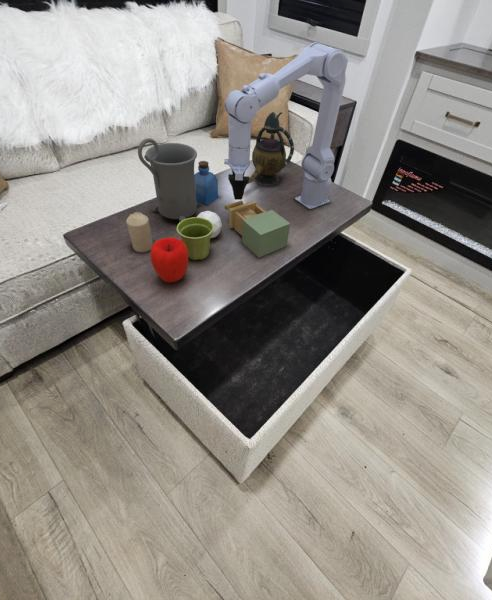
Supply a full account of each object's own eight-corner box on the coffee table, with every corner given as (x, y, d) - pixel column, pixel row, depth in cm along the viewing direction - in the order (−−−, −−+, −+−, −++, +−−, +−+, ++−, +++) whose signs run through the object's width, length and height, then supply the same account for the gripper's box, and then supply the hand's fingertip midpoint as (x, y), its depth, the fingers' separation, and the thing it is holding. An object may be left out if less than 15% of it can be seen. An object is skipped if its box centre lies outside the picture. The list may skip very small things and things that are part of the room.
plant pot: (200, 269, 88) (198, 242, 82) (172, 255, 91) (168, 229, 85) (221, 251, 94) (220, 225, 87) (194, 239, 97) (192, 213, 91)
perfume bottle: (218, 197, 114) (217, 162, 105) (206, 204, 110) (205, 169, 101) (203, 191, 116) (201, 157, 107) (192, 198, 112) (189, 163, 103)
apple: (174, 295, 81) (168, 260, 73) (147, 280, 84) (139, 246, 76) (197, 275, 86) (194, 241, 79) (171, 262, 89) (166, 228, 81)
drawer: (220, 219, 103) (220, 201, 99) (244, 211, 107) (245, 193, 103) (242, 238, 97) (243, 220, 93) (267, 229, 101) (268, 211, 97)
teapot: (292, 176, 128) (302, 109, 111) (255, 202, 113) (260, 129, 96) (266, 167, 132) (272, 101, 115) (227, 190, 117) (227, 119, 101)
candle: (148, 254, 91) (141, 222, 84) (129, 250, 91) (121, 219, 84) (156, 242, 95) (150, 211, 88) (138, 239, 95) (131, 207, 88)
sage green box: (241, 242, 97) (242, 219, 92) (269, 232, 102) (271, 209, 96) (258, 258, 93) (260, 234, 87) (286, 246, 97) (290, 223, 92)
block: (257, 226, 100) (249, 220, 102) (257, 214, 97) (250, 208, 99) (246, 230, 98) (238, 223, 101) (246, 218, 96) (238, 212, 98)
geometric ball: (211, 247, 99) (209, 239, 91) (190, 230, 99) (186, 221, 91) (227, 227, 100) (227, 218, 92) (206, 211, 100) (204, 200, 92)
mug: (182, 196, 113) (174, 116, 95) (214, 213, 107) (212, 131, 89) (136, 219, 102) (116, 133, 84) (169, 239, 96) (155, 151, 78)
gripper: (224, 133, 92) (225, 179, 102) (223, 155, 82) (223, 204, 92) (250, 134, 93) (248, 180, 103) (251, 156, 83) (249, 205, 93)
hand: (238, 192), depth 98 cm, fingers open, 7 cm apart
